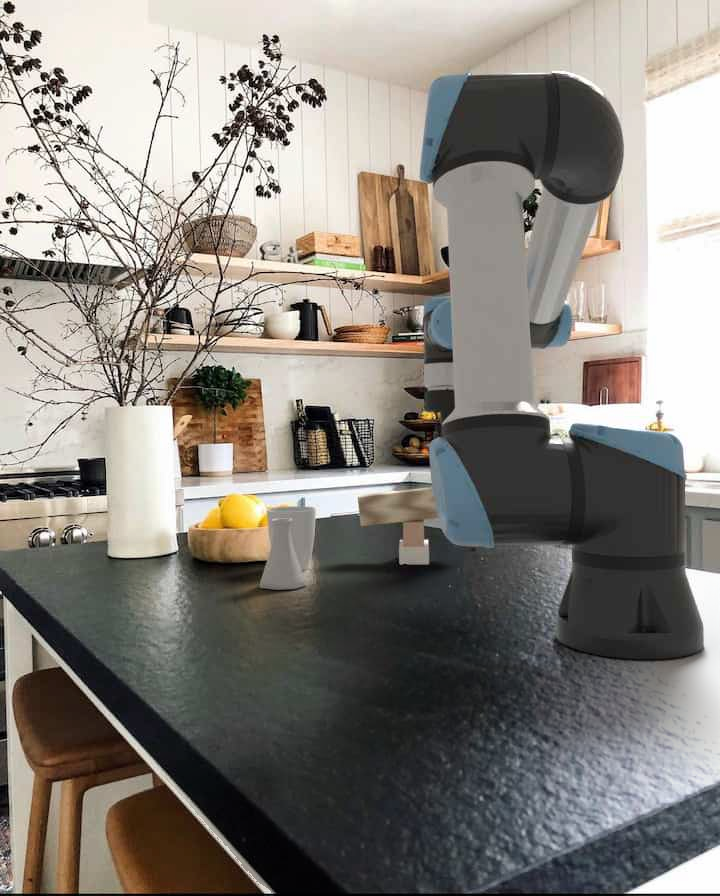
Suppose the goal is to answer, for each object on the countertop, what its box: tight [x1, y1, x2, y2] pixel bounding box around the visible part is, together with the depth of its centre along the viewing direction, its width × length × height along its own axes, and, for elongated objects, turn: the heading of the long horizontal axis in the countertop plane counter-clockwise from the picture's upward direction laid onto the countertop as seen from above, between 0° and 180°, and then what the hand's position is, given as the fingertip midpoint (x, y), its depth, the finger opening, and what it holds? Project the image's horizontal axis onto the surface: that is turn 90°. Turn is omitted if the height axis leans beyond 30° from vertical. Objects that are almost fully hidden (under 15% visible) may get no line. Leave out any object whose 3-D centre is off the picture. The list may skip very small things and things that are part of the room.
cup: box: [266, 506, 317, 572], centre depth 136 cm, size 8×8×10 cm
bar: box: [357, 486, 439, 527], centre depth 142 cm, size 18×4×5 cm, turn 86°
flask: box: [259, 518, 307, 591], centre depth 122 cm, size 7×7×10 cm
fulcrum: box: [398, 519, 430, 566], centre depth 142 cm, size 8×5×7 cm, turn 176°
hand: (448, 522), depth 141 cm, fingers open, 6 cm apart
